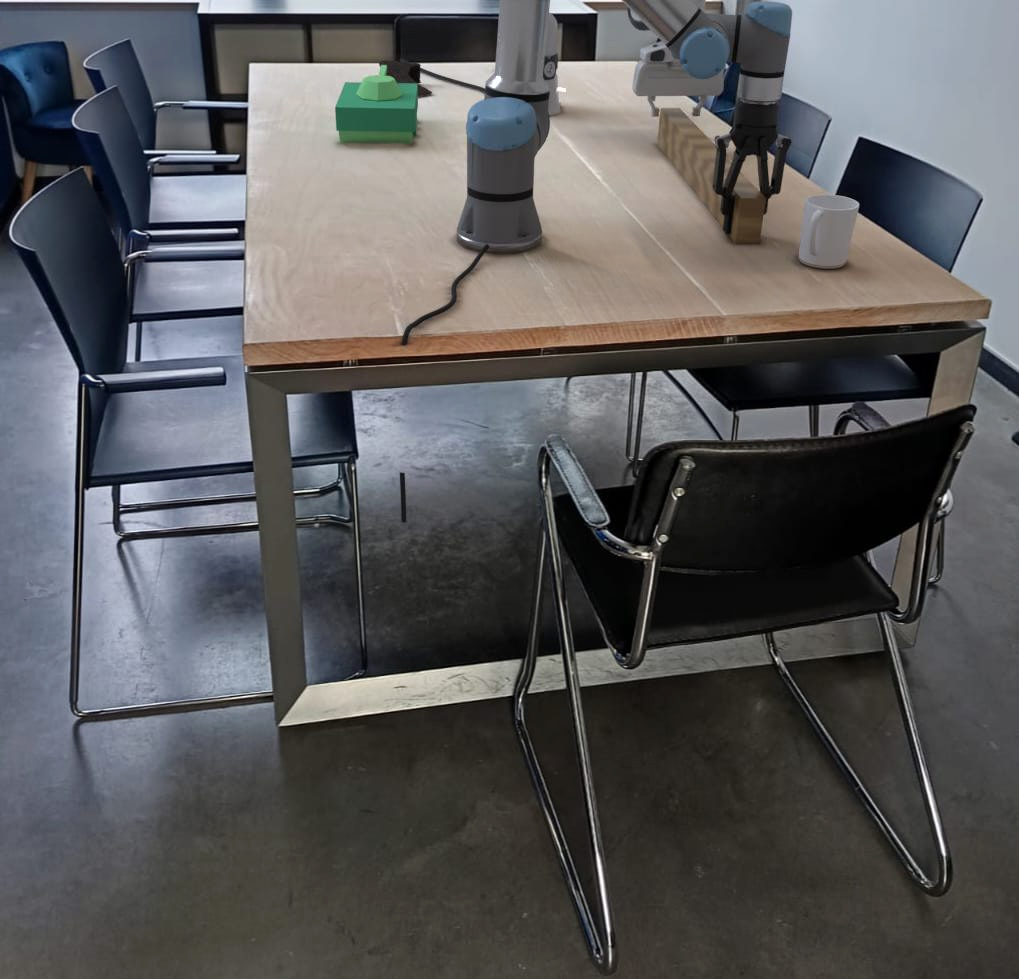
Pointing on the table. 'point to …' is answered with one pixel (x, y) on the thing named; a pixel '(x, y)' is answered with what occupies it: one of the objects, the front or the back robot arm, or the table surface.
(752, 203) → the beam
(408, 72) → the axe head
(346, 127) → the green tank
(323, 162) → the table surface
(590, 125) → the table surface
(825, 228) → the mug
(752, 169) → the table surface
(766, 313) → the table surface
